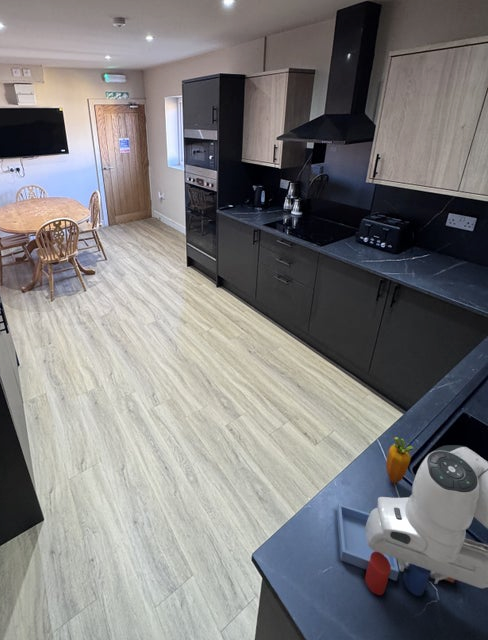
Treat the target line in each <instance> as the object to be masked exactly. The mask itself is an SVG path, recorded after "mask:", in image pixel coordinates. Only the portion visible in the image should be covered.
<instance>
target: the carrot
mask: <svg viewBox="0 0 488 640" xmlns="http://www.w3.org/2000/svg"><path fill="white" fill-rule="evenodd" d="M393 439H394V441H395V443H393V444H392V445H391V446H390V447H389V449H388V451H387V457H386V463H385V466H386V474H387V477H388V479H389V481H390V482H391V483H392V484H396V483H397V484H398V483H399V482H401V481H402V480H403V478H404V477H405V476H406V473H407V470H408V468H409V465H410V462H411V460H412V456H411V455H410V453H409V452H410V451H412V450H414V446H412V445H408V446H407V447H406V442H405V439H403V438H399V436H398V437H397V436H396V437H394V438H393Z"/></svg>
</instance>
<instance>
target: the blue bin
mask: <svg viewBox="0 0 488 640" xmlns="http://www.w3.org/2000/svg"><path fill="white" fill-rule="evenodd" d="M370 513H371V512H367V511H364V510H360V509H358V508H354V507H352V506H348V505H345V504H342V503H338V504H337V509H336V517H337V529H338V531H337V532H338V543H339V554H340V555H339V557H340V561H342V562H344V563H347V564H350V565H353V566H355V567H358V568H360V569H363V570H366V571H367V568H368V564H369V560H370V556H371V554H372V553H373V552H376V551H373V550H372V549H371V548H370V547H369V546H368V544H367V539H366V532H365V527H366V523H367V520H368V517H369V515H370ZM381 554H382V553H381ZM383 555H384V556H385V557H386V558H387V559H388V561H389V563H390V566H391V571H390V575H389V578H388V579H390V580H392V581H395V582H397V580H398V577H399V573H400V569H399V565H398V563H397V560H396V558H393V557H391V556H388V555H385V554H383Z"/></svg>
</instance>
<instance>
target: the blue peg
mask: <svg viewBox="0 0 488 640" xmlns="http://www.w3.org/2000/svg"><path fill="white" fill-rule="evenodd" d="M408 565H409V568H410V571H409V574H408V573H405V572H403V575H402V581H403V583H404V586H405V587H406V589H407V590H408V591H409V592H410V593H411V594H413V595H415V596H418V597H419V596H422V595H423V594H424V592H425V589H426V586H427V584H428V582H429V581H428V579H429V576H430V573H431V571H430V570H427V569H425V568H422V567H419V566H416V565H413V564H410V563H408Z"/></svg>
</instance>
